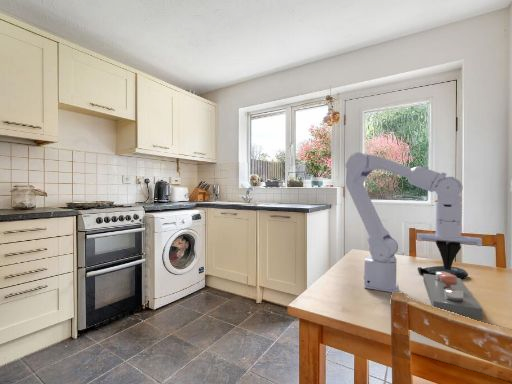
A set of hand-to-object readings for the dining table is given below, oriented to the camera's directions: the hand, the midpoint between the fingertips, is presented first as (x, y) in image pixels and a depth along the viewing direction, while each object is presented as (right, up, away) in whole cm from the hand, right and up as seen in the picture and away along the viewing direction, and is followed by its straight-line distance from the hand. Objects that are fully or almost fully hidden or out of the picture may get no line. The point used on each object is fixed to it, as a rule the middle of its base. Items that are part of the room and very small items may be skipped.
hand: (447, 268), depth 75 cm
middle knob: (+3, -7, +3) cm, 8 cm away
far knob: (+6, -8, +11) cm, 15 cm away
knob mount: (+3, -9, +3) cm, 10 cm away
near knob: (-1, -9, -4) cm, 10 cm away
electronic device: (+15, -9, +21) cm, 28 cm away
